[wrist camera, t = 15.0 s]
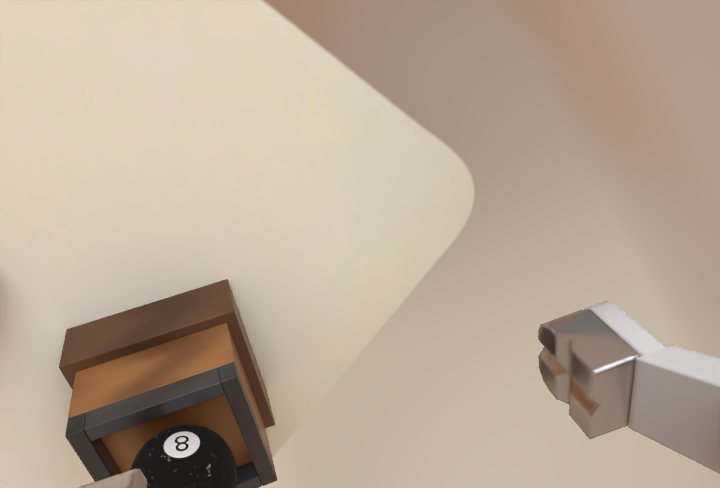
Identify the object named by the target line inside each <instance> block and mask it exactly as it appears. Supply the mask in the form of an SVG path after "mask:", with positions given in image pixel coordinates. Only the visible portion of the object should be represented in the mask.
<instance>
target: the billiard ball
mask: <svg viewBox="0 0 720 488" xmlns="http://www.w3.org/2000/svg"><path fill="white" fill-rule="evenodd" d="M133 469H140V470H141V472H142V473H143V475H144V476H145V478H146V479H147V488H236V486H237V469H236V463H235V459H234V456H233V453H232V451H231V449H230V447H229V446H228V444H227V443H226V441H225V440H224V439H223V438H222V437H221V436H220V435H219V434H217V433H216V432H214V431H212V430H210V429H208V428H205V427H202V426H197V425H180V426H175V427H171V428H169V429H166V430H164V431H162V432H160V433H158V434H157V435H155V436H154V437H152V438H151V439H150V440H149V441H147V442H146V443H145V444H144V446H143V447H142V448H141V449H140V451H139V452H138V454H137V455H136V457H135V459H134V461H133V464H132V466H131V469H130V470H133Z"/></svg>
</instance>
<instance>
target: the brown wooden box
mask: <svg viewBox="0 0 720 488" xmlns="http://www.w3.org/2000/svg"><path fill="white" fill-rule="evenodd" d="M59 368H60V370H61V372H62V373H63V375H64V376H65V378H66V380H67V381H68V383H69V385H70V386H71V388H72V390H73V392H72V398H71V404H70V410H69V416H68V418H69V419H68V423H67V429H66V435H65V436H66V438H67V439H68V441H69V442H70V444H71V446H72V447H73V449H74V450H75V452H76V453H77V455H78V456H79V458H80V459H81V461H82V462H83V464H84V465H85V467H86V469H87V470H88V472H89V473H90V475H91V476H92V478H93V479H94V481H95V482H96V481H99V480H102V479H105V478H108V477H111V476H114V475H117V474H121V473H124V472H127V471H130V469H131V466H132V464H133V461H134V459H135V457H136V455H137V454H138V452H139V451H140V449H141V448H142V447H143V446H144V444H145V443H146V442H147V441H149V440H150V439H151V438H152V437H154V436H155V435H157V434H158V433H160V432H162V431H164V430H166V429H169V428H171V427H175V426H180V425H197V426H202V427H205V428H208V429H210V430H212V431H214V432H216V433H217V434H219V435H220V436H221V437H222V438H223V439H224V440H225V441H226V443H227V444H228V446H229V447H230V449H231V451H232V453H233V456H234V459H235V463H236V469H237V486H236V488H258V487H261V486H262V485H263V486H264V485H267V484H269V483H272V482H274V481H276V480H277V477H276V473H275V468H274V464H273V460H272V455H271V451H270V447H269V442H268V438H267V434H266V429H265V428H267V427H270V426H273V425H275V422H274V418H273V414H272V410H271V406H270V402H269V398H268V394H267V390H266V387H265V384H264V382H263V379H262V376H261V373H260V370H259V367H258V365H257V362H256V359H255V356H254V353H253V350H252V348H251V345H250V342H249V339H248V336H247V333H246V331H245V328H244V325H243V322H242V319H241V316H240V314H239V311H238V308H237V305H236V302H235V299H234V297H233V294H232V291H231V288H230V285H229V282H228V280H223V281H220V282H217V283H214V284H211V285H207V286H204V287H201V288H198V289H195V290H191V291H188V292H185V293H182V294H179V295H175V296H172V297H169V298H166V299H163V300H160V301H156V302H153V303H150V304H147V305H144V306H140V307H137V308H134V309H131V310H128V311H124V312H121V313H118V314H115V315H112V316H109V317H105V318H102V319H99V320H96V321H93V322H89V323H86V324H83V325H80V326H77V327H73V328H70V329H67V331H66V336H65V341H64V346H63V351H62V356H61V360H60V365H59Z"/></svg>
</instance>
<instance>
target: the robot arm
mask: <svg viewBox="0 0 720 488" xmlns="http://www.w3.org/2000/svg"><path fill="white" fill-rule="evenodd" d="M538 338H539V341H540V342H541V343H542V344H543V345H544V346H545V347H544V348H543V350H542V351H541V353H540V355H539V368H540V371H541V374H542V377H543V380H544V382H545V384H546V386H547V387H548V389H549V390H550V392H551V393H552V394H553V396H554V397H555V398H556V399H558V400H560V401H563V402H565V403H568V404H569V407H570V408H569V415H570V416H571V417H572V419H573V420H574V421H575V422H576V423H577V425H578V426H579V427H580V428H581V429H582V431H583V432H584V433H585V434H586V435H587V436H588V438H589V439H592V438H594V437H597V436H600V435H603V434H605V433H608V432H611V431H614V430H617V429H619V428H622V427H625V426H628V425H629V428H630V429H632V430H634V431H636V432H638V433H640V434H642V435H644V436H646V437H648V438H650V439H652V440H654V441H656V442H658V443H660V444H662V445H664V446H666V447H668V448H670V449H672V450H674V451H676V452H678V453H680V454H682V455H684V456H686V457H688V458H690V459H692V460H694V461H696V462H698V463H700V464H702V465H704V466H706V467H708V468H710V469H712V470H714V471H716V472H717V473H719V474H720V359H719V358H716V357H712V356H709V355H705V354H702V353H699V352H695V351H691V350H688V349H685V348H681V347H678V346H674V345H671V346H668V347H665V346H664V345H663V344H662V343H661V342H659V341H658V340H657V339H655V337H653V336H652V335H651V334H650V333H648V332H647V331H646V330H645V329H644V328H642V327H641V326H640V325H639V324H638V323H636V322H635V321H634V320H633V319H632V318H630V317H629V316H628V315H627V314H626V313H624V312H623V311H622V310H621V309H620V308H618V307H617V306H616V305H615V304H613V303H612V302H609V301H604V302H602V303H599V304H596V305H593V306H591V307H588V308H585V309H584V310H580V311H577V312H574V313H571V314H569V315H566V316H563V317H560V318H558V319H555V320H552V321H550V322H547V323H544V324H541V326H540V328H539V336H538ZM80 488H147V479H146V478H145V476H144V475H143V473H142V472H141V470H140V469H133V470H130V471H127V472H124V473H121V474H117V475H114V476H111V477H108V478H105V479H102V480H99V481H96V482H93V483H90V484H87V485H84V486H81V487H80Z"/></svg>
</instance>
